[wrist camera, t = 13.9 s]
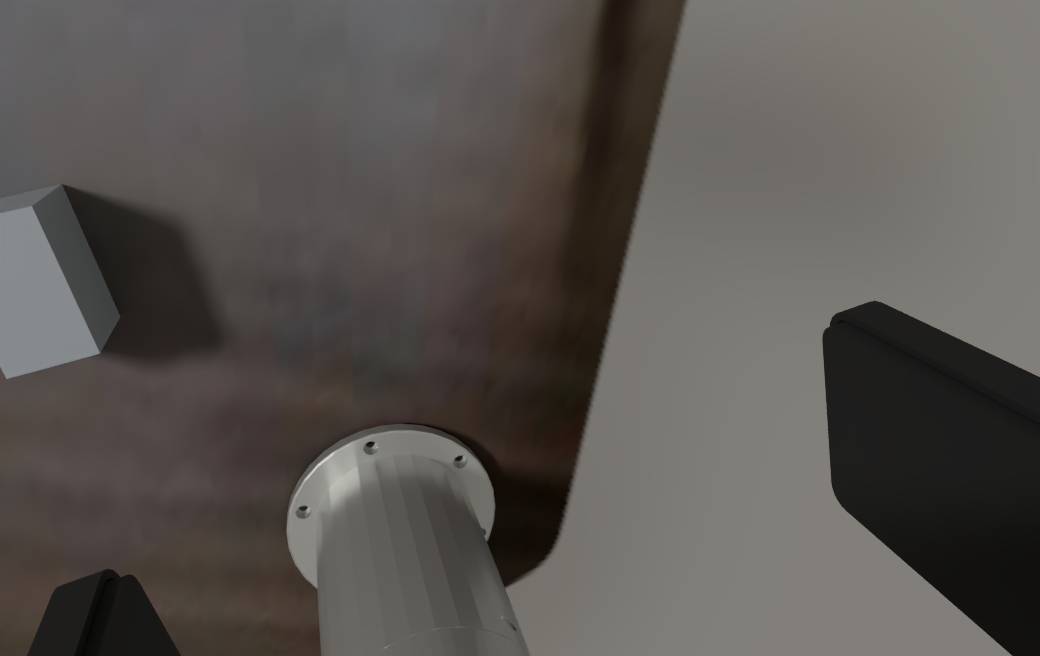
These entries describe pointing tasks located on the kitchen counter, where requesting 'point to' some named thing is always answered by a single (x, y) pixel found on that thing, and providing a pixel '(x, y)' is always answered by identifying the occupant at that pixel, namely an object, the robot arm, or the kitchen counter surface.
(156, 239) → the kitchen counter surface
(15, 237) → the slate brick
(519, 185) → the kitchen counter surface
